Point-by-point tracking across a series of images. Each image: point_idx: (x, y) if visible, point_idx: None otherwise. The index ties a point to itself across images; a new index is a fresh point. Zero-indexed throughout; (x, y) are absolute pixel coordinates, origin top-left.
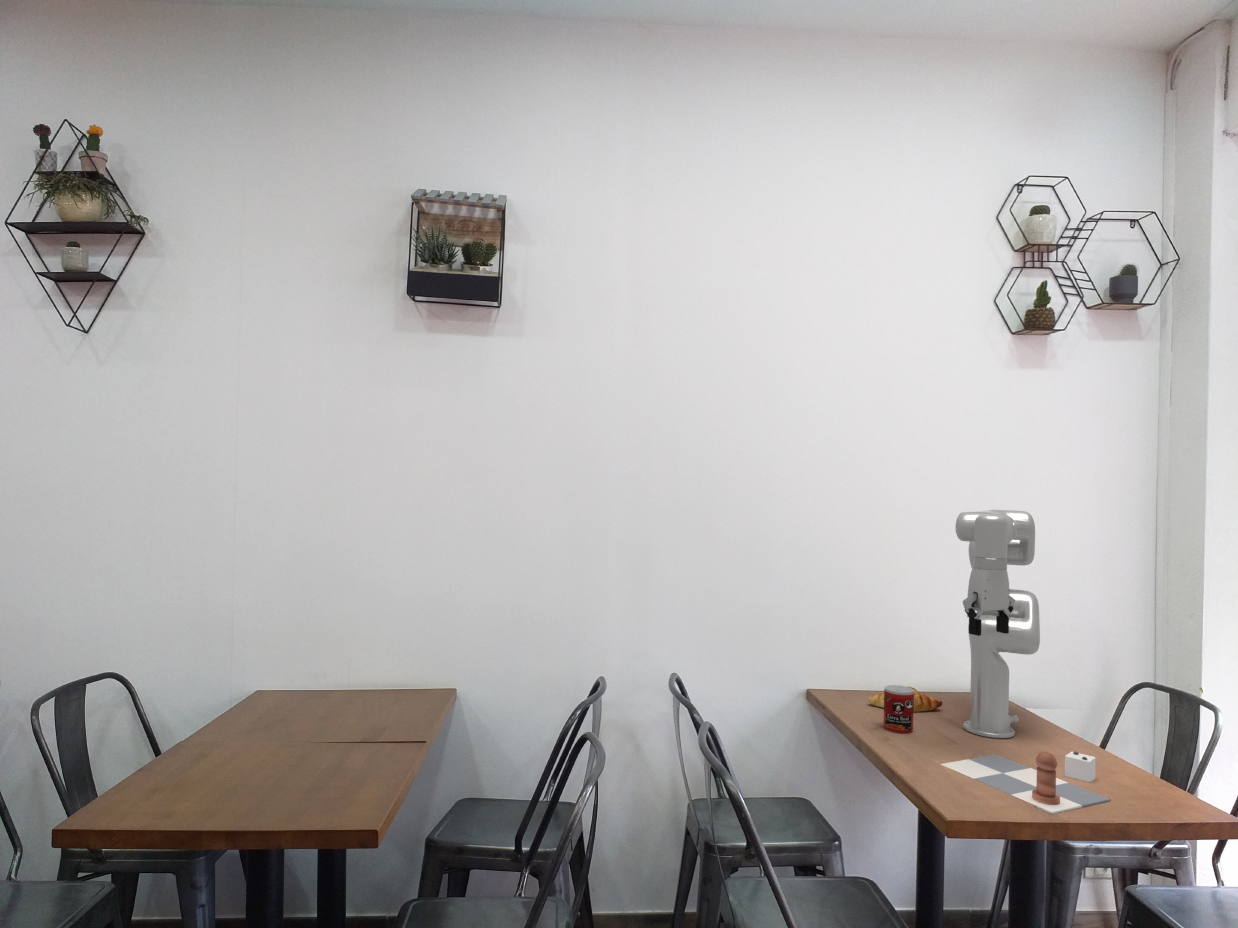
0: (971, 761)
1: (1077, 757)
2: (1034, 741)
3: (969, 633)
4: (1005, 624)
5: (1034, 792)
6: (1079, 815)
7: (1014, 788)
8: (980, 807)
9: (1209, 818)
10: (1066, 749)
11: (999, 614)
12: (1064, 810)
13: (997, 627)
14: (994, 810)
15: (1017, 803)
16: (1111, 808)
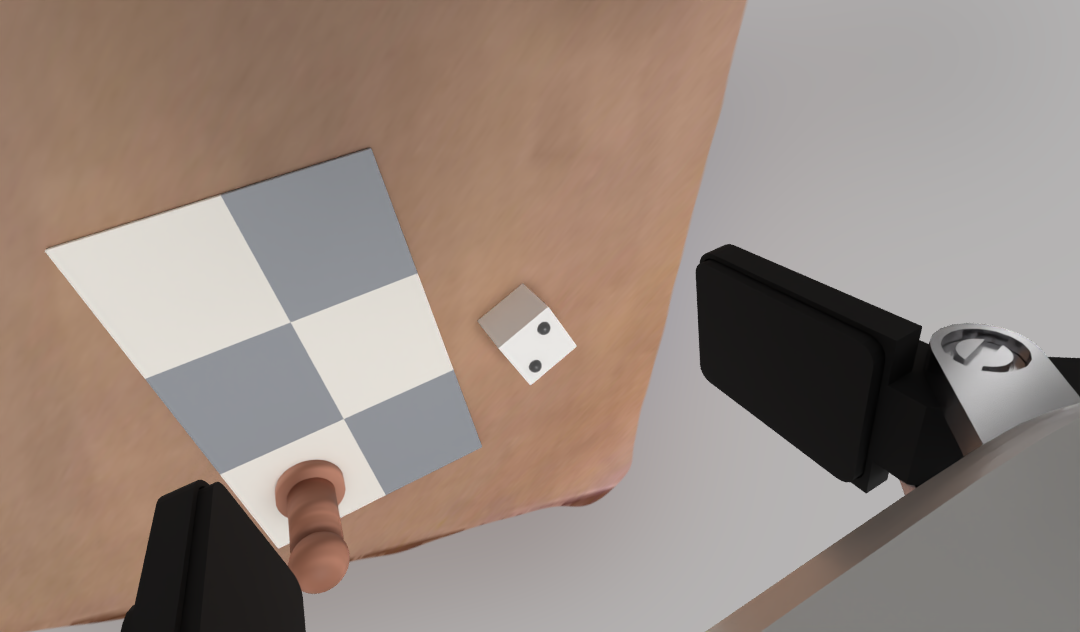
0: (222, 218)
1: (526, 353)
2: (616, 3)
3: (170, 496)
4: (777, 420)
5: (283, 492)
6: (346, 533)
7: (259, 432)
8: (69, 560)
9: (597, 482)
10: (652, 98)
11: (918, 402)
12: None
13: (731, 296)
14: (110, 566)
15: None
16: (450, 482)
